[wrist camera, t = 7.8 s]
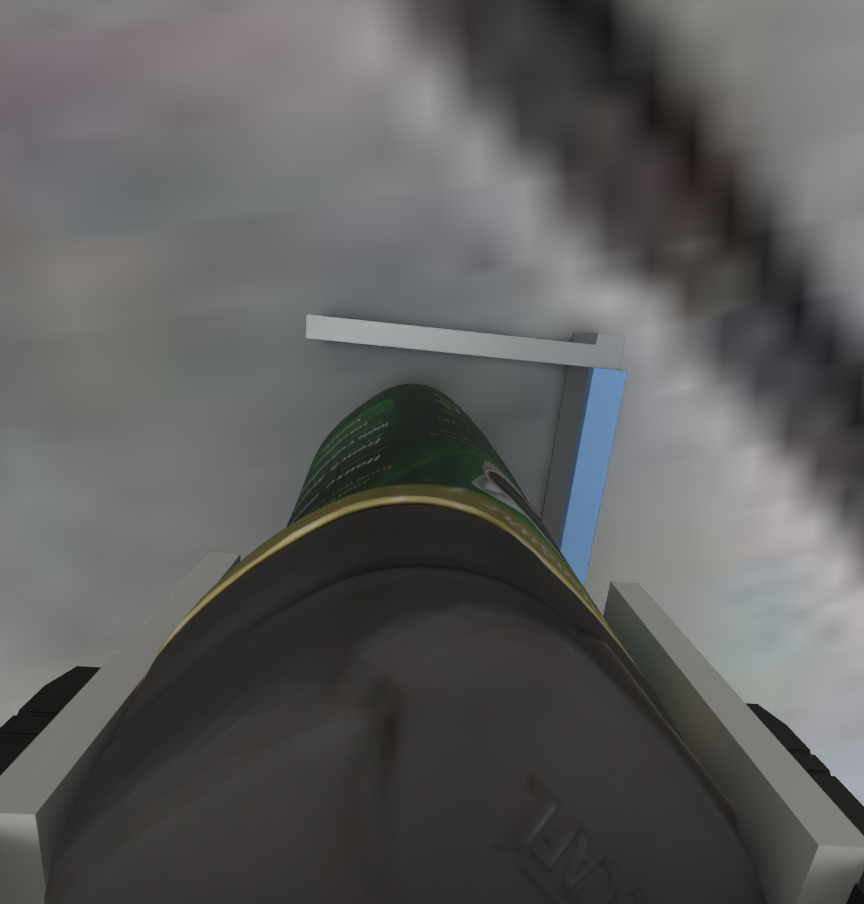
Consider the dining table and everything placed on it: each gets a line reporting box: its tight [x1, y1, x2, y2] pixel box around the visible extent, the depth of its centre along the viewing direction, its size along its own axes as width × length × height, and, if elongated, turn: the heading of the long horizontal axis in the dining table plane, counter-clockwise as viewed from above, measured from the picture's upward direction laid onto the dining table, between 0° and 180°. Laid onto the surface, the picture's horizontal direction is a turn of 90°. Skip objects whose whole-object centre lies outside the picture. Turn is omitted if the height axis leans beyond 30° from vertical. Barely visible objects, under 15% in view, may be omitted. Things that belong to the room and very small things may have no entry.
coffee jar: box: [44, 384, 767, 904], centre depth 14 cm, size 10×8×19 cm
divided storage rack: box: [306, 315, 627, 585], centre depth 30 cm, size 18×30×5 cm, turn 174°
